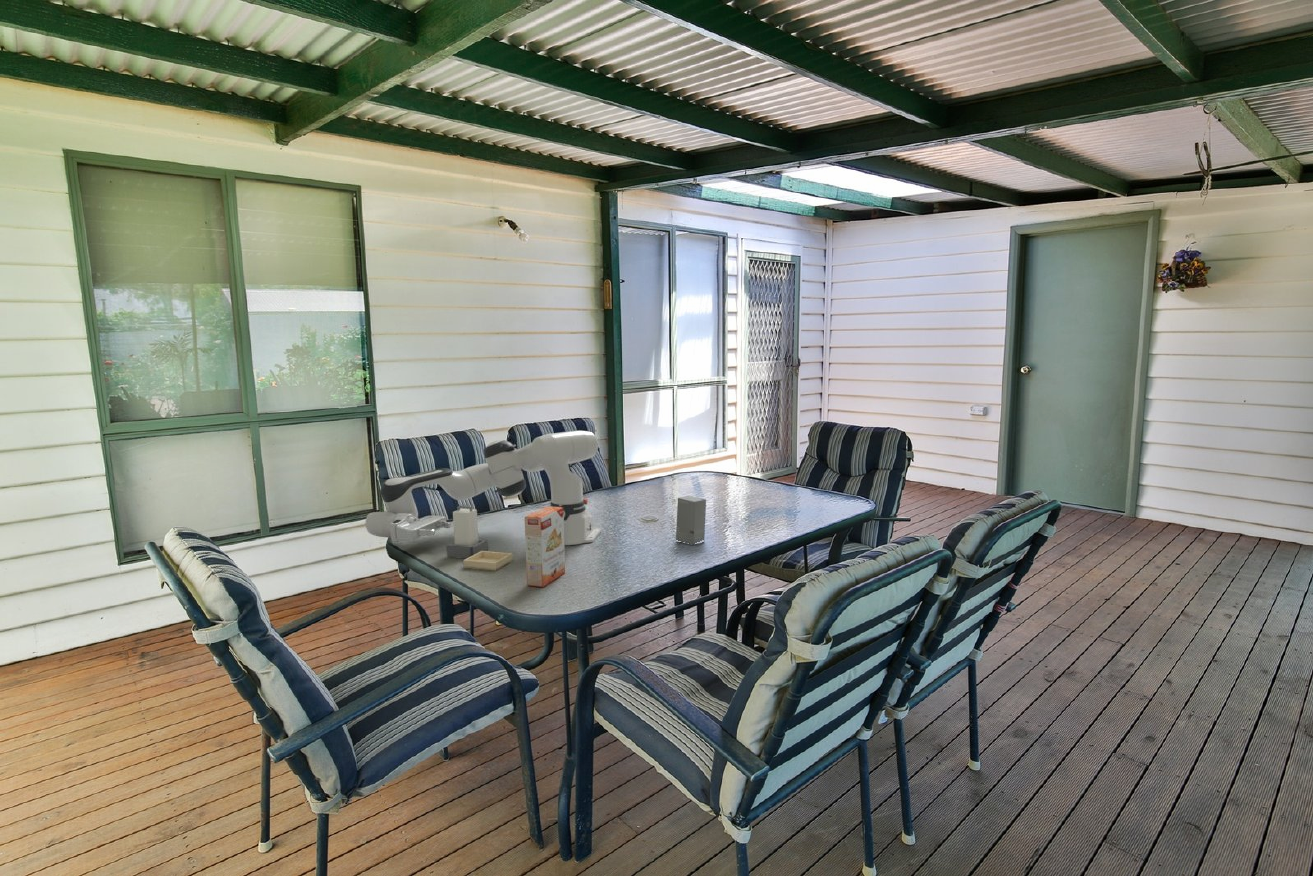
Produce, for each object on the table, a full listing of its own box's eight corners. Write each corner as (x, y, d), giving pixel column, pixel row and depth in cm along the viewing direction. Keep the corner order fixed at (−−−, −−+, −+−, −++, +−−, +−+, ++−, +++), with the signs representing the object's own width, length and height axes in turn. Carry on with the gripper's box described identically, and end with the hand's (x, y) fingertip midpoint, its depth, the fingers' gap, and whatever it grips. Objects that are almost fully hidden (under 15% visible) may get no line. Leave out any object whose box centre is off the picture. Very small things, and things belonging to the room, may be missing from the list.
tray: (482, 558, 234) (481, 550, 234) (513, 560, 230) (512, 553, 230) (463, 568, 224) (463, 560, 224) (495, 571, 220) (495, 563, 220)
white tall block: (464, 551, 242) (461, 504, 240) (479, 552, 240) (476, 505, 238) (455, 555, 238) (452, 507, 235) (470, 557, 236) (468, 508, 233)
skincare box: (675, 542, 248) (674, 497, 246) (688, 537, 253) (688, 494, 251) (694, 546, 242) (693, 501, 240) (707, 541, 248) (706, 497, 245)
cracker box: (544, 588, 204) (541, 517, 201) (526, 586, 206) (522, 516, 203) (566, 573, 217) (564, 506, 214) (549, 571, 219) (546, 505, 216)
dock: (462, 549, 245) (462, 538, 244) (488, 551, 241) (487, 540, 241) (447, 556, 236) (446, 545, 236) (473, 559, 233) (473, 547, 232)
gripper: (426, 527, 255) (459, 529, 251) (388, 543, 236) (424, 546, 232) (425, 510, 254) (458, 512, 250) (387, 524, 235) (422, 527, 231)
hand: (441, 528), depth 241 cm, fingers open, 8 cm apart
